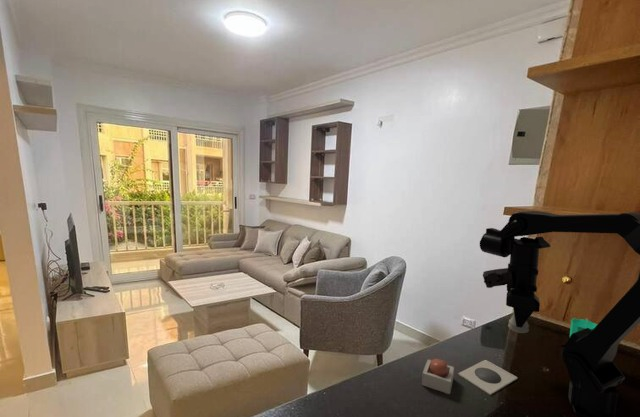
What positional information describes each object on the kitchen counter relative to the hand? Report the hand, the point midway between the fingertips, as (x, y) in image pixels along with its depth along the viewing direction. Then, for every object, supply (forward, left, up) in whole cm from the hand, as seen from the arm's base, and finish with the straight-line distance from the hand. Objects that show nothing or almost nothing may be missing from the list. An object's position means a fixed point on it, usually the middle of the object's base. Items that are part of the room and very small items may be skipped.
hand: (518, 322), depth 77 cm
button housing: (+16, +16, -11) cm, 26 cm away
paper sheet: (+6, +8, -11) cm, 15 cm away
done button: (+16, +16, -9) cm, 25 cm away
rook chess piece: (0, 0, -2) cm, 2 cm away
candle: (-15, -11, -12) cm, 22 cm away
